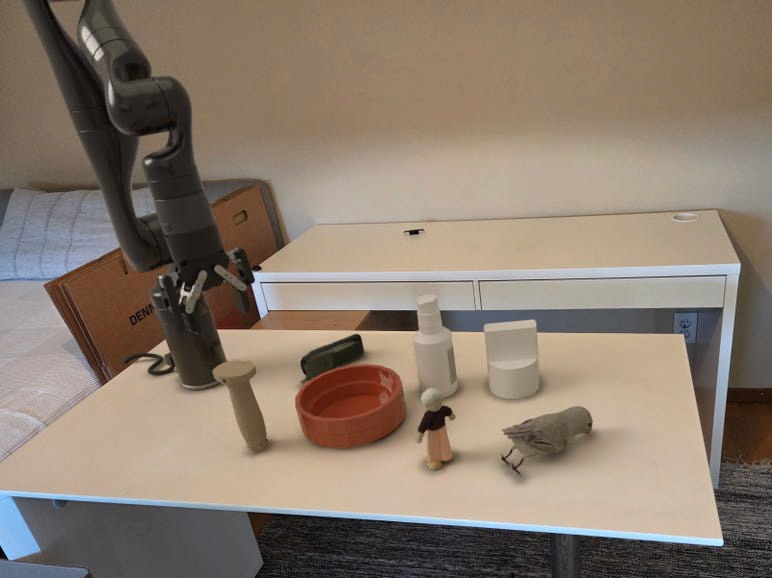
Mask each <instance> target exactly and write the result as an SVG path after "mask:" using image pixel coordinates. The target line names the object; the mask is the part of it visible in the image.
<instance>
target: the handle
mask: <svg viewBox="0 0 772 578" xmlns="http://www.w3.org/2000/svg"><path fill="white" fill-rule="evenodd" d="M227 361H228V362H224V363H222V364H220V365H218V366H217V367H216V368H215V369H214V370H213V375H214V378H215V379H216V380H217V381H218V382H220V383H219V384H222V385H224V386H226V387H227V390H228V393H229V397H230V401H231V404H232V405H231V406H232V408H233V413H234V416H235V420H236V424H237V427H238V429H239V432H240V434H241V436H242V439H243V441H244V442H245V444H246V446H247V448H248V449H249V450H250V452H251V453H257V452H263V451H264V450H265V449H266V448H268V446H269V439H268V438H267V437H268V436H267V434H268V433H267V428H266V423H265V418H264V416H263V414H262V413H263V412H262V410H261V408H260V405H259V402H258V401H257V398H256V395H255V392H254V390H253V387H252V385H251V380H252V379H253V378H254V377H255V375H256V374H257V369H256V365H255V364H254V363H253V362H250V361H247V360H227Z"/></svg>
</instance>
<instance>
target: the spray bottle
mask: <svg viewBox="0 0 772 578" xmlns="http://www.w3.org/2000/svg"><path fill="white" fill-rule="evenodd" d="M416 306H417V310H416V314H417V321H418V322H417V324H418V330H417V331H415V332H414V334H413V335H412V346H413V351H414V358H415V365H416V370H417V377H418V384H419V389H420V393H421V394H422V393H423V392H425V391H426V390H427V389H429V388H436V389H439V390H440V391H442V393H443V395H444V397H443V399H445V398H448V397H450V396H453V395H454V394H455V393H456V392H457V390H458V388H459V383H458V374H457V367H456V366H457V365H456V359H455V352H454V351H455V350H454V343H453V334H452V332H451V330H450V329H449V328H447V327H446V326H444V325H443V321H442V315H441V308H440V307H439V303H438V297H437V295H435V294H430V293H429V294H423V295H420V296H418V297H416Z"/></svg>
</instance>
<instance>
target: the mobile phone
mask: <svg viewBox="0 0 772 578" xmlns="http://www.w3.org/2000/svg"><path fill="white" fill-rule="evenodd" d="M364 355H365V348H364V344H363V339H362V336H361V334H359V333H354V334H351V335H349V336H346V337H344V338H341V339H338V340H336V341H333V342H331V343H329V344H325V345H321V346H320V347H316V348H314V349H312V350H310V351H308V352H307V353H306V354H305V355H303V356H302V357H301V359H300V363H299V365H300V368H301V371H302V374H303V375H304V376H305V378H303V379H302V380H300V384H301V385H303V384H306V383H307V382H308V381H310V380H311V379H313V378H315V377H317V376H319V375H320V374H322V373H325V372H327V371H330V370H333V369H336V368H340V367H344V366H347V365H348V364H350V363H352V362H355V361H357V360H359V359H360V358H362V357H363V356H364Z"/></svg>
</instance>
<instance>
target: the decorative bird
mask: <svg viewBox="0 0 772 578" xmlns="http://www.w3.org/2000/svg"><path fill="white" fill-rule="evenodd" d="M593 422H594V421H593V417H592V415H591V413H590V411H589V410H588V409H587V408H585V407H583V406H580V405H579V406H577V405H574V406H570V407H568V408H565V409H564V410H562V411H558V412H553V413H546V414H542V415H539V416H536V417H533V418H529V419H526V420H524V421H523V422H521V423H519V424H513V425H512V426H509V427H507V428H501V429H500V431H502V432H503V433H502V435H503V436H506V439H508V440H510V441H511V442H512V444H513V445H512V446H511V449H510V451H509V452H508V454H507V455H505V456H504V455H503V454H502V453H499V455H500V456H501V458H500V459H501V461H503V462H504V463H505V464H506V465H507V466H508V467H509V468H510V467H511V466H512V467H511V470H512V471H514V472H516V475H517V476H519V477H520V478H522V475H521V473H520V471H519V470H518V467H520V466H522V464H523V462H524V461H525V460H526V459H527V458H534V457H535V458H536V457H538V456H540V457H541V456H545V455H548V454H551V453H552V454H554V453H555V454H557V453H561V452H562V451H563V450H564V449H565V448H566V447H567V445H569V444H570V442H572V441H573V440H574V439H575V438H576V436H577V435H580V434H585V435H589V434H591V432H592V430H593V425H594V423H593ZM516 449H517V451H518V452H520V454H522V455H523V456H522V458H521V460H520V462H519V463H518V464H516V465H514V463H511V462H509V461H508V460H507V459H508V458H509V457H510V456H511V455H512V454H513V452H514V450H516ZM510 465H511V466H510Z"/></svg>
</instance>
